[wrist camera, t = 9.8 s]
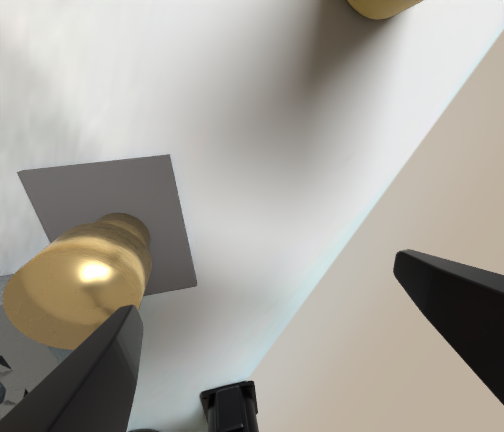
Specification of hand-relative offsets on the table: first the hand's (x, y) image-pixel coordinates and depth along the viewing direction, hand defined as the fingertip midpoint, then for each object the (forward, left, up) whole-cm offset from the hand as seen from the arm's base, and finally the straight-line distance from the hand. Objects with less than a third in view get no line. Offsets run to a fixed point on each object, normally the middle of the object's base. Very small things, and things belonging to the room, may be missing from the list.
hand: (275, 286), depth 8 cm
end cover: (-3, +9, -13) cm, 16 cm away
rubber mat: (-3, +10, -13) cm, 16 cm away
